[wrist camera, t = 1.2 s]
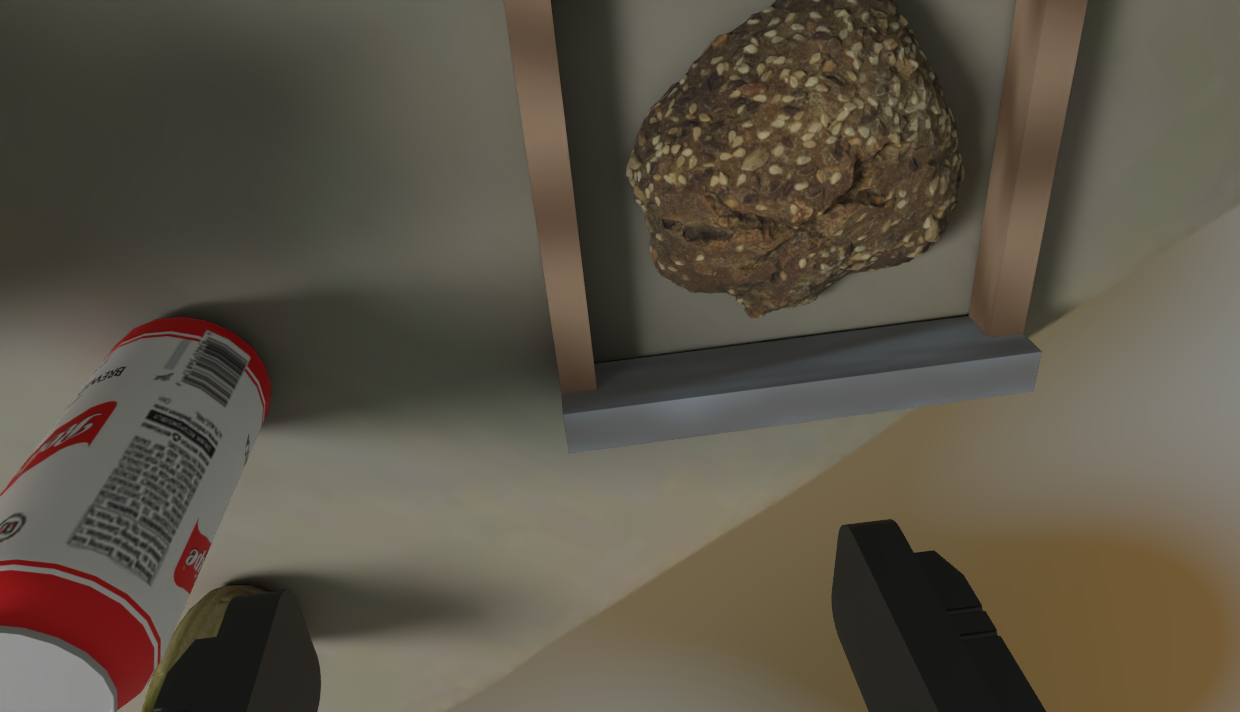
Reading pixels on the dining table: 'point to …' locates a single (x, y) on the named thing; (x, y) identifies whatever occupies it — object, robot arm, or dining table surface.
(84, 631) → the beer can
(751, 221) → the bread roll
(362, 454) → the dining table surface
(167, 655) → the fennel bulb
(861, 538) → the robot arm
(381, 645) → the dining table surface
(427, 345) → the dining table surface
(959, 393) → the frame
